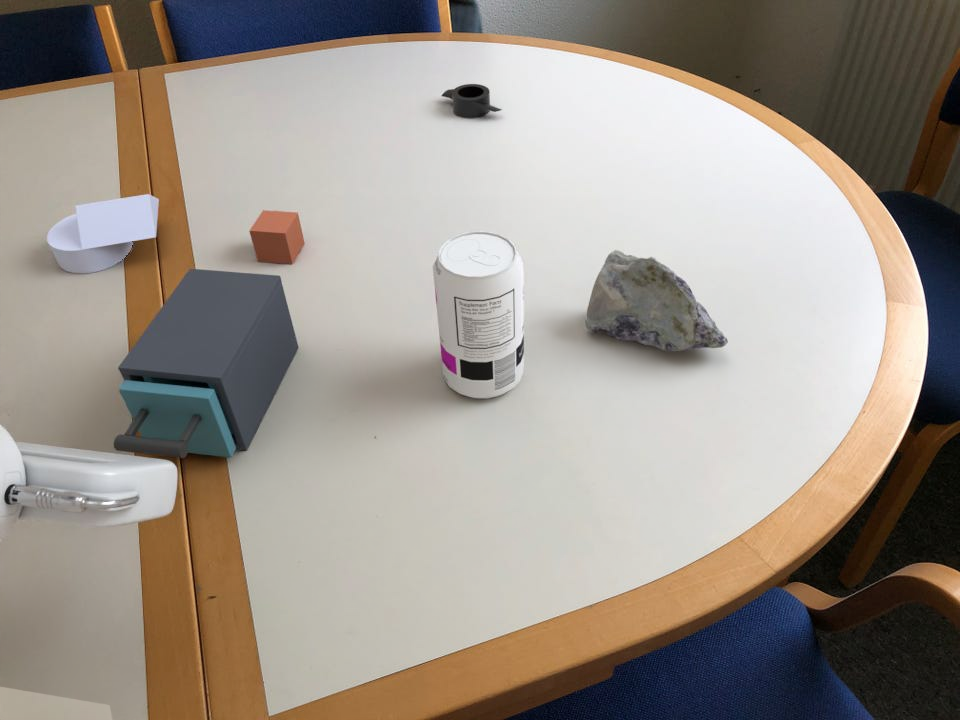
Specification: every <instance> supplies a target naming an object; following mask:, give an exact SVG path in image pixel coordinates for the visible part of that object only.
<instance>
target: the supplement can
mask: <svg viewBox="0 0 960 720" xmlns="http://www.w3.org/2000/svg"><path fill="white" fill-rule="evenodd" d="M437 254H438V255H437V257H436V259H435V261H434V263H433V265H432V273H433V281H434V282H433V283H434V284H433V285H434V296H435V305H436V315H437V323H438V324H437V325H438V326H437V327H438V335H439V336H438V337H439V347H440V357H441V367H442V375H443V377H442V378H443V379H444V381H445V382H446V384H447V385H448V387H449V388H451V389H452V390H453V391H455V392H456V393H457V394H459V395H462V396H466V397H469V398H473V399H486V400H487V399H491V398H495V397H500V396H501V395H503V394H505V393H507V392H509V391H511V390H513V389H514V388H515V387H516V386H517V385H518V384H519V382H520V381H521V380H522V377H523V373H524V371H525V328H524V327H525V265H524V262H523V259H522V257H521V255H520V254H519V252H518V251H517V248H516V245H515V244H514V243H513V242H512V241H511V240H510V239H509V238H508V237H505V236H504V235H501V234H499V233H497V232H491V231H487V230H483V231H482V230H480V231H479V230H478V231H477V230H473V231H467V232H463V233H459V234H456V235H454V236H452V237H450V238H448V239H447V240H446V241H445V242H444V243H443V244H442V245H441V246H440V248H439V251H438V253H437Z"/></svg>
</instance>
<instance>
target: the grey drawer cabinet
mask: <svg viewBox="0 0 960 720" xmlns="http://www.w3.org/2000/svg"><path fill="white" fill-rule="evenodd" d="M298 350H299V344H298V339H297V336H296V332H295V327H294V325H293V321H292V317H291V313H290V309H289V305H288V301H287V297H286V294H285V290H284V286H283V282H282V277H281V275H278V274H277V275H276V274H265V273H252V272H240V271H239V272H237V271H227V270H225V271H224V270H212V269H199V268H189V269H188V271H187V272H186V273H185V275H184V276H183V278H181V280H180V282H179V283H178V285H176V287H175V288H174V290H173V291H172V293H171V294H170V295H169V297H168V298H167V299H166V301H165V302H164V304H163V305H162V307H161V308H160V309H159V310H158V311H157V313H156V315H155V316H154V317H153V319H152V320H151V322H149V324H148V326H147V327H146V328H145V330H144V331H143V332H142V334H141V335H140V337H138V340H137V341H136V342H135V344H133V346H132V347H131V349H130V350H129V351H128V353H127V354H126V356H125V357H124V358H123V360H122V361H121V363H120V364H119V366H118V367H117V368H118V371H119V373H120V375H121V376H122V379H123V382H124V381H125V380H129V381H139V382H145V381H144V379H143V377H142V376H146V377H156V378H166V379H176V380H185V381H195V382H205V383H215V386H216V388H217V391H218V394H219V396H220V399H221V402H222V405H223V407H224V410H225V413H226V415H227V418H228V421H229V423H230V426H231V429H232V431H233V434H231V436H232V438H233V441H234V444H235V446H236V449H235V450H238V451H248V449H249V447H250V445H251V443H252V441H253V440H254V437H255V435H256V433H257V431H258V429H259V427H260V425H261V423H262V421H263V420H264V417H265V415H266V413H267V411H268V410H269V407H270V405H271V404H272V402H273V399H274V398H275V395H276V394H277V392H278V390H279V388H280V385H281V383H282V382H283V380H284V379H285V376H286V374H287V372H288V370H289V368H290V366H291V363H292V362H293V360H294V358H295V355H296V354H297V352H298Z"/></svg>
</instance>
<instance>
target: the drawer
mask: <svg viewBox="0 0 960 720" xmlns="http://www.w3.org/2000/svg"><path fill="white" fill-rule="evenodd" d="M142 377H143V379H144V381H145V382H139V381H129V380H125V381H124V380H123V382H122V383H121V385H120V386H119V388H118V391H119V394H120V396H121V398H122V400H123V402H124V404H125V406H126V408H127V410H128V412H129V414H130V416H131V418H132V422H131V423H130V425H129V426H128V428H127V429H126V431H125V432H124V434H121V433H120V434H117V435H116V436H115V437H114V441H113V448H114V450H115V451H116V452H124V453H132V454H133V453H134V454H142V455H149V456H150V455H151V456H160V457H169V458H176V459H185V458H186V457H187V455H188V454H196V455H204V456H214V457H221V458H232V457H233V455H234V453H235V452H236V450H237V449H236V446H235V444H234V441H233V438H232V436H231V434H233V431H232V429H231V426H230V423H229V421H228V418H227V415H226V413H225V410H224V407H223V405H222V402H221V399H220V396H219V394H218V391H217V388H216V386H215V383H205V382H195V381H185V380H176V379H166V378H156V377H146V376H142ZM138 432H139V436H138V435H136V434H137V433H138Z"/></svg>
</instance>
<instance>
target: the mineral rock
mask: <svg viewBox="0 0 960 720" xmlns="http://www.w3.org/2000/svg"><path fill="white" fill-rule="evenodd" d="M597 274H598V275H597V276H596V279H595V281H594V284H593V287H592V290H591V293H590V294H591V295H590V299H589V302H588V304H587V309H586V318H585V328H586V330H587V331H588V332H590V333H592V334H600V333H604V334H607V335H608V336H611V337H615V338H616V340H622V341H630V342H631V341H635V342H636V343H639V344H641V345H644V346H653V347H655V348H658V349H660V350H662V351H665V352H680V351H685V350H695V349H705V348H707V349H708V348H709V349H719V348H724V347H726V346H727V344H729V342H728V341H729V340H728V338H727V337H726V336H725V334H724V333H723V332H722V331H721V330H720V329H719V328H718V327H717V325H716V322H715V321H714V320H713V319H712V317H710V314H709V312H708V310H707V309H705V307H704V306H703V305H702V304H701V302H699V301H697V299H696V297H695V295H694V293H693V291H692V289H691V287H690V285H688V283H687V281H685V280H684V279H683V278H682V277H680V276H678V275H677V274H676V272H674V271H673V270H671V268H670V267H668V266H666V265H665V264H664V263H661V262H660V261H658V260H657V259H656V258H655V257H653V256H650V257H647V258H645V257H637V256H635V255H632V254H628V255H627V254H625V253H624V252H623V251H621V250H618V249H615V250H612V251H611V252H610V253H608V255H607V257H606V258H605V260H604V264H603V265H602V267H601V268H600V271H599V273H597Z"/></svg>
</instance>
